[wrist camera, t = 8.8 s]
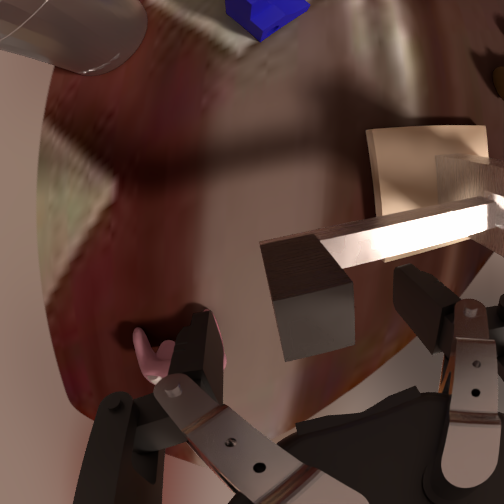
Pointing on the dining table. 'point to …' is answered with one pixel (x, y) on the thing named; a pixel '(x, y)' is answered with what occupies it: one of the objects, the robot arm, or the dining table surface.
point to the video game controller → (156, 355)
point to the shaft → (346, 255)
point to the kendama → (499, 80)
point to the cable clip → (264, 14)
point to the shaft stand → (436, 174)
